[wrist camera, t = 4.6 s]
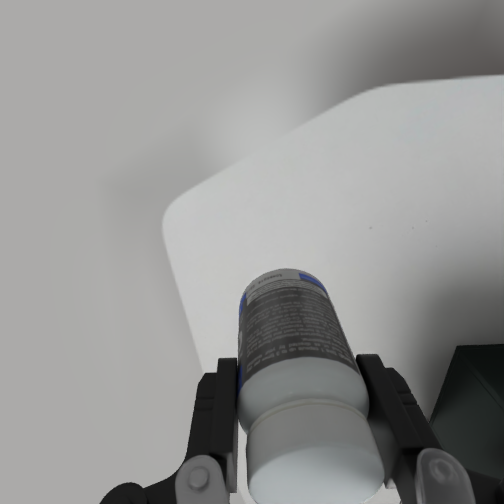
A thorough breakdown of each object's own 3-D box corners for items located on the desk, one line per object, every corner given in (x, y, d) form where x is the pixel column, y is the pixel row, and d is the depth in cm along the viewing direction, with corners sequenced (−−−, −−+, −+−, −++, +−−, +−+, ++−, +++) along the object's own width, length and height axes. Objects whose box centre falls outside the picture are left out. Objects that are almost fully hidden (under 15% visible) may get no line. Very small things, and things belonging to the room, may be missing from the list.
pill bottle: (221, 292, 16) (199, 472, 8) (304, 250, 15) (364, 413, 7) (267, 350, 18) (281, 538, 10) (342, 316, 17) (421, 499, 9)
